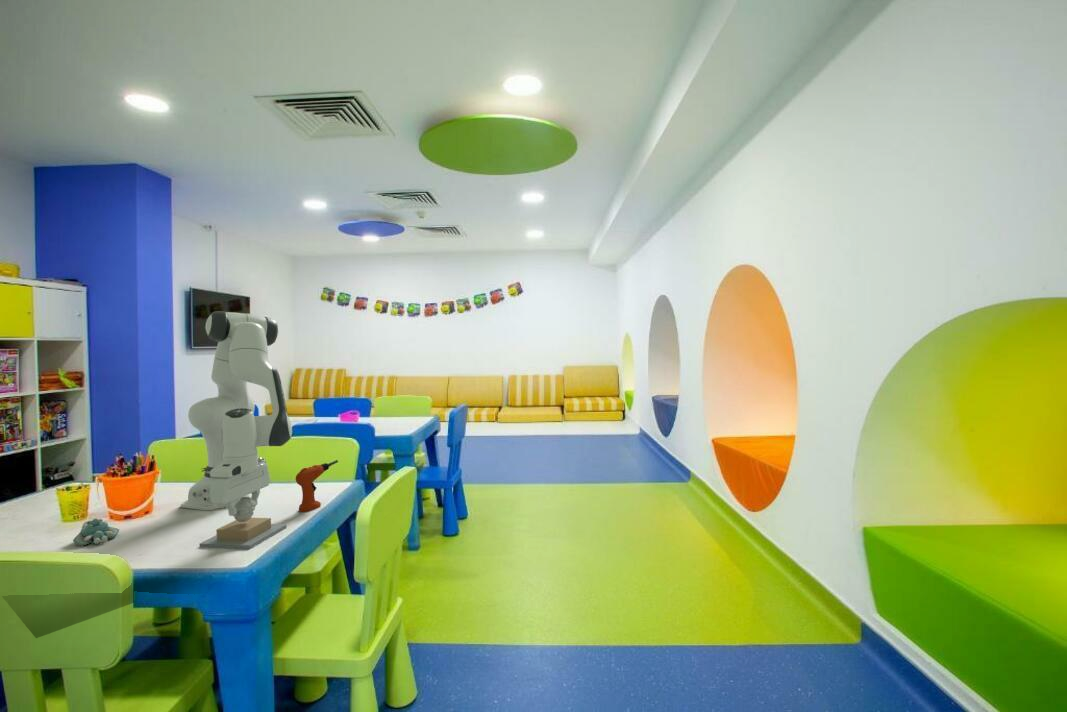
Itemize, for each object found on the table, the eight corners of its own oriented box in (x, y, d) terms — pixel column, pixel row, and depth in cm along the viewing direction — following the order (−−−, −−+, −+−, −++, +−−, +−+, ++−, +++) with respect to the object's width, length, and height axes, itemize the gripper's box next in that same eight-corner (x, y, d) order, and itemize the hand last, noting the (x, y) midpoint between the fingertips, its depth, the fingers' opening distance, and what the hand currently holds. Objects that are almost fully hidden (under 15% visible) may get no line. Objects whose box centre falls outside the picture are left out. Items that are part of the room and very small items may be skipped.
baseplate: (199, 547, 144) (198, 533, 144) (240, 526, 160) (239, 513, 160) (250, 548, 142) (249, 534, 142) (286, 527, 158) (285, 514, 157)
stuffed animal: (76, 533, 143) (68, 517, 151) (77, 557, 144) (68, 539, 152) (124, 522, 152) (114, 507, 159) (124, 544, 153) (114, 528, 160)
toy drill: (347, 492, 188) (341, 453, 186) (306, 515, 171) (299, 473, 169) (337, 491, 190) (331, 452, 188) (295, 513, 173) (289, 471, 171)
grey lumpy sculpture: (262, 516, 154) (260, 494, 153) (243, 526, 147) (241, 503, 146) (246, 515, 155) (244, 493, 155) (226, 525, 149) (224, 502, 148)
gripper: (256, 455, 161) (258, 498, 162) (204, 473, 141) (207, 522, 141) (274, 455, 160) (276, 499, 161) (225, 473, 140) (227, 522, 140)
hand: (243, 510), depth 151 cm, fingers closed on grey lumpy sculpture, 7 cm apart
